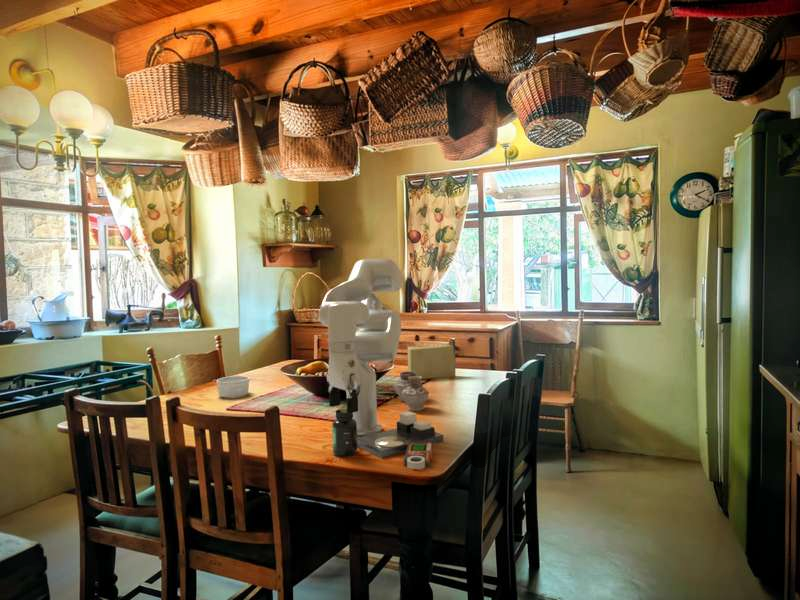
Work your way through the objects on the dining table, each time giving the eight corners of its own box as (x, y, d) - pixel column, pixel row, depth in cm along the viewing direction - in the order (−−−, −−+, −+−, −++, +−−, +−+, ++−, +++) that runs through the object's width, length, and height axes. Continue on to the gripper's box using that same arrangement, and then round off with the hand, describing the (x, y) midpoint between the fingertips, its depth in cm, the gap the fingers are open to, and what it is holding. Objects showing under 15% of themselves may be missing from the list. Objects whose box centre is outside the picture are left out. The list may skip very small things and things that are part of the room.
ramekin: (244, 399, 214) (243, 382, 214) (212, 399, 215) (211, 382, 214) (254, 391, 228) (253, 375, 227) (223, 391, 228) (223, 376, 228)
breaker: (400, 424, 162) (399, 413, 162) (409, 422, 164) (409, 411, 164) (407, 427, 159) (406, 416, 159) (416, 425, 161) (416, 413, 161)
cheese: (452, 374, 256) (452, 343, 255) (457, 378, 246) (457, 346, 245) (407, 376, 253) (406, 345, 252) (410, 380, 243) (409, 348, 243)
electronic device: (403, 461, 135) (408, 440, 150) (403, 472, 135) (408, 450, 150) (429, 462, 134) (432, 440, 149) (429, 473, 134) (432, 450, 149)
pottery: (403, 414, 188) (402, 380, 187) (391, 397, 212) (391, 368, 211) (434, 411, 190) (433, 378, 189) (419, 395, 214) (418, 366, 213)
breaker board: (354, 445, 155) (354, 430, 154) (414, 430, 168) (414, 416, 167) (381, 458, 143) (381, 442, 143) (443, 441, 156) (443, 426, 156)
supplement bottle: (332, 457, 145) (330, 414, 144) (333, 449, 151) (332, 407, 151) (357, 456, 145) (356, 413, 144) (357, 448, 152) (356, 407, 151)
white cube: (413, 434, 156) (413, 422, 156) (423, 431, 158) (423, 420, 158) (421, 437, 153) (421, 425, 153) (431, 434, 156) (430, 423, 155)
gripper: (370, 349, 142) (371, 412, 142) (338, 343, 156) (339, 401, 156) (346, 351, 137) (347, 417, 138) (315, 346, 151) (316, 405, 152)
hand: (343, 408), depth 147 cm, fingers open, 9 cm apart
